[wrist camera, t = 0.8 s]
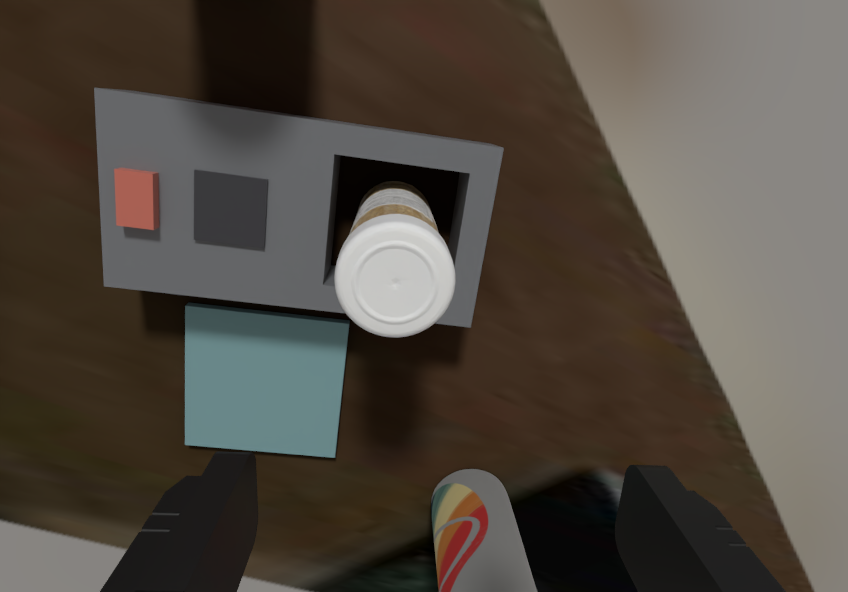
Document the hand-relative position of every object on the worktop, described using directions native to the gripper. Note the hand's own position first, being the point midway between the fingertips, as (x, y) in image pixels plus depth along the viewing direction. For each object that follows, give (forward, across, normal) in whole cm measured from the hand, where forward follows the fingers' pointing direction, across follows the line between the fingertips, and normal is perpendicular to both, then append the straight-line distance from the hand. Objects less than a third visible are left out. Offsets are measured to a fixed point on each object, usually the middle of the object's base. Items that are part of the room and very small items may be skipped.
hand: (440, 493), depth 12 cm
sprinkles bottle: (+23, +2, -2) cm, 23 cm away
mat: (+23, +10, +9) cm, 26 cm away
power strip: (+22, +6, -3) cm, 23 cm away
